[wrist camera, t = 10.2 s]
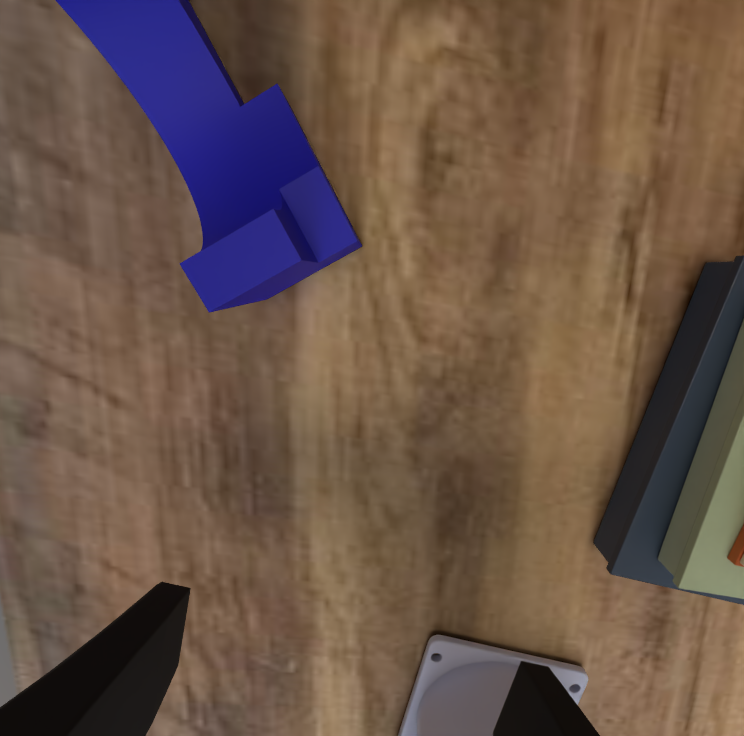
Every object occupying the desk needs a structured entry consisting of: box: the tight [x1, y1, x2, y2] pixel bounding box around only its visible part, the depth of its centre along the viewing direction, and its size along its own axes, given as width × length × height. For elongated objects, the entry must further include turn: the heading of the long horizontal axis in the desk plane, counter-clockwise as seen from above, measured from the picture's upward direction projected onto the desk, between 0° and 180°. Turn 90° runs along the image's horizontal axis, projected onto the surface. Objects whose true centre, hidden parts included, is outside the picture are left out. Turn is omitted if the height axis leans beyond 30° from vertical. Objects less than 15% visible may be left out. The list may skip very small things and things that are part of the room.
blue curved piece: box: [56, 0, 362, 312], centre depth 13 cm, size 12×4×6 cm, turn 28°
